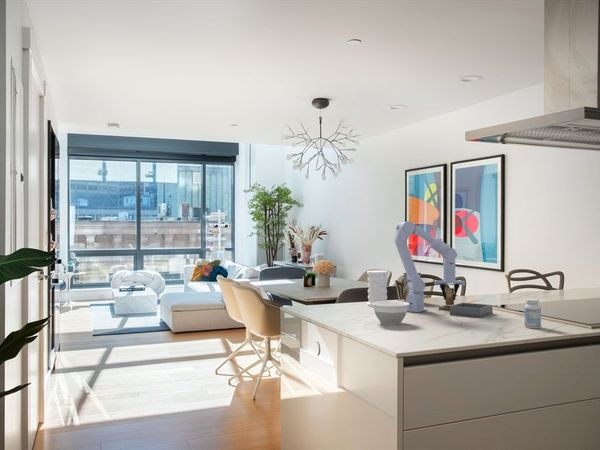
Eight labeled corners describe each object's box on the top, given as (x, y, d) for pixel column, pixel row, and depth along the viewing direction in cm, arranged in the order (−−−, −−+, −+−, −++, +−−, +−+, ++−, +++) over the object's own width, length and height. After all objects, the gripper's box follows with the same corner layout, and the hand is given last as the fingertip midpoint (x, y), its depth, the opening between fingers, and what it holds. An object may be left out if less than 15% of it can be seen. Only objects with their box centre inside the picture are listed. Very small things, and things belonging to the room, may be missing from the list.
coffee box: (422, 302, 300) (421, 272, 300) (421, 303, 294) (420, 273, 294) (404, 301, 302) (404, 272, 303) (403, 303, 296) (403, 273, 296)
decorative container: (381, 303, 296) (381, 270, 297) (393, 306, 286) (392, 271, 286) (362, 304, 292) (362, 271, 292) (373, 307, 281) (373, 272, 281)
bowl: (365, 321, 239) (365, 302, 239) (397, 319, 244) (397, 300, 244) (383, 327, 224) (383, 306, 224) (417, 325, 229) (416, 304, 229)
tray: (480, 317, 246) (480, 308, 246) (449, 314, 255) (449, 306, 255) (492, 313, 257) (492, 304, 257) (462, 310, 266) (462, 302, 266)
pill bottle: (527, 325, 225) (526, 298, 225) (543, 327, 221) (542, 299, 221) (522, 327, 220) (522, 299, 220) (538, 329, 216) (538, 300, 216)
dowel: (451, 305, 268) (451, 288, 268) (444, 304, 271) (444, 288, 271) (455, 304, 271) (455, 288, 271) (447, 303, 274) (447, 287, 274)
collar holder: (454, 311, 265) (454, 308, 265) (438, 309, 270) (438, 306, 270) (461, 309, 271) (461, 306, 271) (445, 308, 276) (445, 305, 277)
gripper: (464, 271, 273) (465, 298, 273) (434, 271, 277) (435, 298, 277) (464, 272, 266) (465, 300, 266) (433, 272, 270) (434, 299, 270)
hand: (449, 299), depth 271 cm, fingers closed on dowel, 4 cm apart
